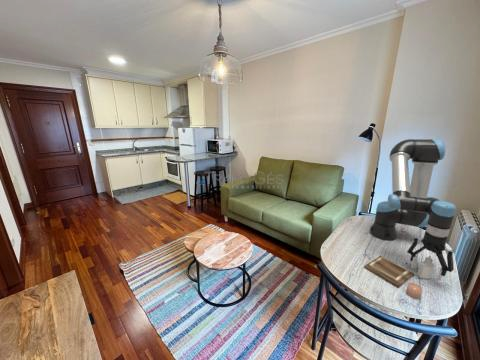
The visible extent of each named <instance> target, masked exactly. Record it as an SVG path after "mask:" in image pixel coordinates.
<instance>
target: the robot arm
mask: <svg viewBox="0 0 480 360" xmlns="http://www.w3.org/2000/svg"><path fill="white" fill-rule="evenodd" d="M445 155H446V146H445V143H444V142H443V141H442V139H433V138H432V139H425V138H424V139H421V138H420V139H414V138H413V139H412V138H411V139H410V138H409V139H404V140H402V141H399V142H398V143H397V144H395V145H394V146H393V148H391V150H390V152H389V161H390V162H391V180H392V181H391V183H392V184H391V185H392V189H391V190H392V193H391V194H388V198H387V201H385V200H384V201H380V202H378V203H377V205H376V209H375V210H376V211H375V217H374V222H373V223H372V225H371V226H370V228H369V233H370V234H371V236H373V237H374V238H377V239H380V240H384V241H395V240H396V239H397V238H398V237H397V236H398V234H397V229H396V225H398V224H399V225H405V226H409V227H410V226H411V227H415V228H425V232H424V234H423V235H424V236H423V238H420V237H419V236H416V237H414V239H413V242H412V244H411V245H410V246H409V248H408V250H407V254H409V255H410V259H409V260H410V261H411V265H410V269H414V268H415V267H416V263H417V260H418V254H419V253H421V252H422V251H424V250H426V251H430V252H431V253H434V254H435V256H436V257H437V259H438V262H439V264H440V267H441V268H439V270H438V274H437V277H436V281H437V282H439V281H441V280H442V277H445V276H446V275H447V272H449V273H452V272H453V271H454V269H455V268H454V256H453V255H454V253H455V250H454V249H449V248H447V247H446V244H447V240H448V236H449V234H450V231H451V226H452V223H453V220H454V217H455V215H456V209H457V207H456V205H455V204H454V203H451V202H448V201H446V200H445V201H444V200H443V201H442V200H440V199H438V198H437V197H435V196H428V194H429V189H430V184H431V179H432V175H433V170H434V166H436V165H438V164H439V161H442V160H443V159H444V158H445ZM410 159H411V163H412V164H413V171H412V176H411V180H410V171H409V160H410ZM419 243H422V246H421V247H420V248H418V249H417V250H415V248H416V247H417V245H418V244H419ZM414 250H415V251H414ZM443 252H445V254H446V260H445V258H444V255H443ZM446 261H447V262H446Z"/></svg>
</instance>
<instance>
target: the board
mask: <svg viewBox="0 0 480 360" xmlns="http://www.w3.org/2000/svg"><path fill="white" fill-rule="evenodd" d="M363 269H365V270H367V271H369V272H370V273H372V274H374V275H375V276H377V277H379V278H381V279H382V280H383V281H385V282H387V283H389V284H390V285H392V286H394V287H396V288H397V289H399V288H400V287H402V286H403V285H404V284H405V283H406V282H408V281H409V280H411V278H413V277H414V276H415V272H413V271H411V270H410V269H408V268H405V267H404V266H402V265H400V264H398V263H396V262H394V261H393V260H391V259H388V258H387V257H384V256H383V255H379V256H378V257H376V258H374V259H372V260H371V261H370V262H367V263H366V264H365V265H364V266H363Z"/></svg>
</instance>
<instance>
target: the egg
mask: <svg viewBox="0 0 480 360" xmlns="http://www.w3.org/2000/svg"><path fill="white" fill-rule="evenodd" d="M405 293H406V294H407V295H408V296H409V297H410V298H413V299H416V300H417V299H418V300H419V299H421V297H422V293H423V288H422V287H421V286H420V285H419V284H416V283H414V282H408V283H407V286H406V291H405Z"/></svg>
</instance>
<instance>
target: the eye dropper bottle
mask: <svg viewBox="0 0 480 360" xmlns="http://www.w3.org/2000/svg"><path fill="white" fill-rule="evenodd" d="M435 268H436V267H435V264H434V263H433V259H432V256H430V255H429V256H428V257H425V259H424V261H422V262H420V264H419V267H418V270H417V276H418V277H419V278H420V279H423V280H430V279H432V278H433V275H434V271H435Z"/></svg>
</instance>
